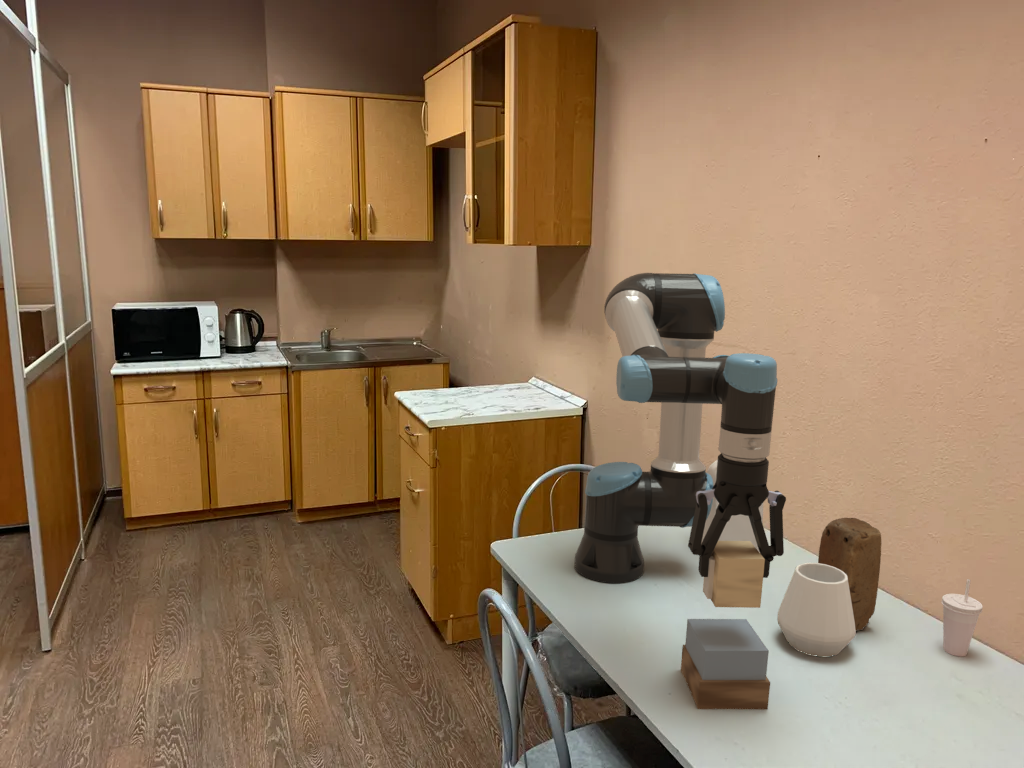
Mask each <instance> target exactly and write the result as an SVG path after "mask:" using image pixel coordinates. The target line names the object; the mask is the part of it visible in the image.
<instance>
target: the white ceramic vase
mask: <svg viewBox="0 0 1024 768" xmlns="http://www.w3.org/2000/svg"><path fill="white" fill-rule="evenodd" d="M776 620H777V624H778V625H779V628H780V630H781V631H782V633H783V636H784V638H785V639H786V642H787V643H788V642H789V643H788V644H789V646H790V647H792V646H793V647H794V648H793V647H792V648H793V649H795V648H796V649H797V650H796V649H795V650H796V651H798V650H799V651H798V652H800V651H802V652H805V653H807V654H811V655H817V656H832V655H835V656H837V655H838V654H839V653H840V652H842V651H843V650H844V648H845V647H847V646H848V644H850V643H851V641H853V639H854V638H855V636H856V634H857V631H856V629H855V621H854V615H853V609H852V602H851V596H850V590H849V584H848V577H847V575H846V574H845V573H844V572H843V571H841V570H839V569H837V568H835V567H833V566H829V565H826V564H820V563H818V562H805V563H800V564H798V565H797V566H796V567H795V569H794V572H793V573H792V575H791V579H790V581H789V584H788V586H787V588H786V591H785V593H784V595H783V598H782V601H781V603H780V605H779V608H778V611H777V619H776ZM802 652H801V653H802ZM805 653H804V654H805ZM807 654H806V655H807ZM811 655H810V656H811ZM832 657H833V656H832Z"/></svg>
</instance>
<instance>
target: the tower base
mask: <svg viewBox="0 0 1024 768" xmlns="http://www.w3.org/2000/svg"><path fill="white" fill-rule="evenodd" d="M681 649H682V650H681V651H682V652H681V662H680V663H681V664H680V672H681V674H682V676H683V678H684V680H685V681H684V682H685V683H686V685H687V688H688V689H689V692H690V694H691V697H692V699H693V701H694V704H695V706H696V708H697V710H768V708H769V700H770V691H771V690H770V688H771V681H770V679H769V678H768V676H767V675H766V680H702V678H701V676H700V674H699V672H698V670H697V668H696V666H695V664H694V662H693V660H692V658H691V656H690V655H689V653H688V651H687V649H686V647H685V644H682V648H681Z"/></svg>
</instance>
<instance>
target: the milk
mask: <svg viewBox="0 0 1024 768" xmlns="http://www.w3.org/2000/svg"><path fill="white" fill-rule="evenodd" d="M717 462H718V458H717V459H716V460H714V462H712V463H711V464H710V465H709V466H708V468H707V471H706V473H708V474H710V475H711V476H712V479H713V485H715V483H716V474H717ZM718 505H719V502H718V501H717V499H716V498H715V497H713V502H712V507H711V511H710V514H709V516H708V518H707V520H706V523H705V527H704V532H703V537H702V541H703V539H704V537H705V535H706V533H707V531H708V529H709V527H710V525H711V522H712V520H713V518H714V516H715V514H716V509H717V507H718ZM759 512H760V515H761V518H762V519H761V521H762V524H763V523H764V502H763V503H762V505H761V506H760V507H759ZM763 525H764V524H763ZM718 541H750V542H751V543H752V544H753V545H754V547H755V548H756V549H757V550H758V551H759V549H758V546H757V542H756V539H755V536H754V532H753V529H752V526H751V523H750V519H749V516H745V515H741V514H740V515H736V516H735V515H732V516H731V518H730V520H729V521H728V522H727V523H726V525H725V527H724V529H723V531H722V534H721V536H720V538H719V540H718ZM701 543H702V542H701ZM759 553H760V552H759Z"/></svg>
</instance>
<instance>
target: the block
mask: <svg viewBox="0 0 1024 768" xmlns="http://www.w3.org/2000/svg"><path fill="white" fill-rule="evenodd" d="M881 534H882V533H881V531H880V530H879V529H878V528H876V527H874V526H872V525H871V524H870V523H868V522H867V521H864V520H861V519H859V518H856V517H840V518H836V519H834V520H831V521H830V522H828V523H827V525H826V526H825V528H824V529H823V531H822V533H821V536H820V537H821V538H820V543H819V547H818V548H819V549H818V562H817V563H820V564H826V565H829V566H833V567H835V568H837V569H839V570H841V571H843V572H844V573H845V574H846V575H847V577H848V584H849V590H850V596H851V602H852V609H853V615H854V621H855V629H856V632H857V631H861V630H864V628H865V627H867V626H868V625H869V624H870V619H871V618H872V616H873V615H874V614H875V610H876V603H877V598H878V592H879V591H878V589H879V579H880V574H881V573H880V572H881V557H882V535H881Z"/></svg>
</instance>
